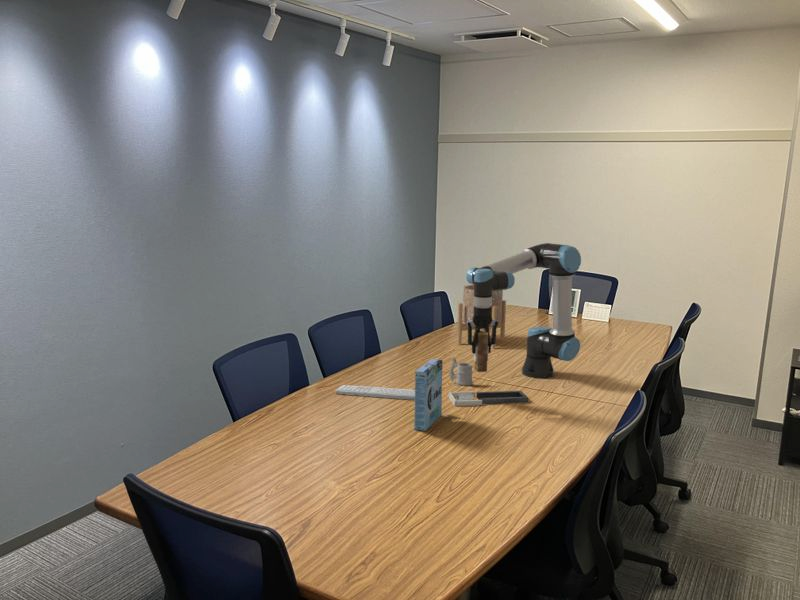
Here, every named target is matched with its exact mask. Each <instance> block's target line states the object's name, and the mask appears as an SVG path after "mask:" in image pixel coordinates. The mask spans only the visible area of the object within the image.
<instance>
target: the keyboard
mask: <svg viewBox="0 0 800 600" xmlns="http://www.w3.org/2000/svg"><path fill="white" fill-rule="evenodd" d="M334 391H335V393H336V394H337V395H342V394H345V395H346V396H355V395H359V396H358V397H368V396H369V397H370V398H384V399H398V400H409V401H411V400H412V401H415V389H407V388H405V389H404V388H394V387H379V386H362V385H347V386H346V384H342V385H340V386H339V387H338V388H336V389H335V390H334Z"/></svg>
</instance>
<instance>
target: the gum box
mask: <svg viewBox="0 0 800 600" xmlns="http://www.w3.org/2000/svg"><path fill="white" fill-rule="evenodd" d="M414 374H415V375H414V376H415V377H414V378H415V380H414V384H415V385H414V390H415V400H414V422H413V423H414V426H413V428H414V430H417V431H422V432H426V431H427V430H428V429H430V427H431V426H432V425H433V424H434V423H435V422H436V421H437V420H438V419H439V418H440V417H441V416H442V410H443V408H442V404H443V399H442V398H443V359H436V358H431V359H430V360H428V361H427V362H426V363H424V364H423V365H422V366H420V368H418V369H417V370H415V373H414Z"/></svg>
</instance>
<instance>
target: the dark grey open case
mask: <svg viewBox="0 0 800 600" xmlns="http://www.w3.org/2000/svg"><path fill="white" fill-rule="evenodd" d="M475 397H476V399H477V400H482V405H493V404H494V405H495V404H500V405H501V404H517V403H518V404H520V403H521V404H522V403H523V404H524V403H527V404H528V403H529V396H528V395H526V394H525V393H524V392H523V391H522V390H504V391H503V390H502V391H501V390H500V391H499V390H498V391H477V392H475Z"/></svg>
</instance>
